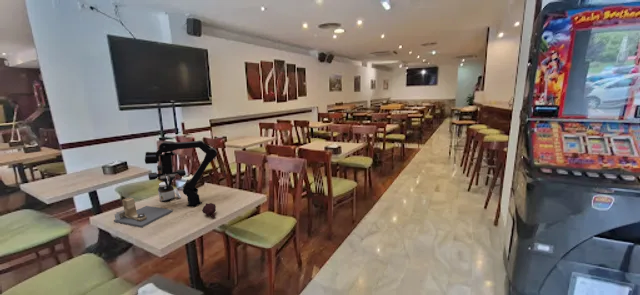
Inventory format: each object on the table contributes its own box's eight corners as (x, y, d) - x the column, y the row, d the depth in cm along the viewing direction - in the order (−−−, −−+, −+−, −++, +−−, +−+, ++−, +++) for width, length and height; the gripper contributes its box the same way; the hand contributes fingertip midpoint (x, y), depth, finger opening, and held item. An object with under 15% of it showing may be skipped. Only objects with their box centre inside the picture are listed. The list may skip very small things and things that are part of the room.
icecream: (197, 202, 152) (203, 213, 140) (210, 196, 155) (217, 206, 144) (202, 211, 155) (208, 223, 143) (214, 205, 158) (221, 216, 147)
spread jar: (157, 200, 173) (154, 183, 171) (175, 194, 182) (172, 178, 180) (166, 204, 167) (163, 186, 164) (184, 197, 176) (181, 181, 173)
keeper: (144, 220, 143) (143, 214, 142) (110, 225, 138) (109, 219, 138) (152, 209, 156) (150, 204, 155) (121, 214, 152) (120, 208, 151)
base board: (172, 211, 155) (172, 209, 155) (141, 227, 138) (141, 225, 137) (146, 207, 162) (146, 205, 162) (114, 222, 145) (113, 220, 145)
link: (147, 218, 145) (144, 200, 143) (140, 221, 141) (136, 203, 139) (129, 213, 151) (125, 196, 149) (121, 216, 148) (118, 199, 145)
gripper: (181, 158, 166) (183, 182, 169) (146, 161, 155) (148, 187, 158) (185, 162, 157) (186, 187, 160) (148, 166, 146) (150, 192, 149)
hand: (168, 188), depth 157 cm, fingers closed
